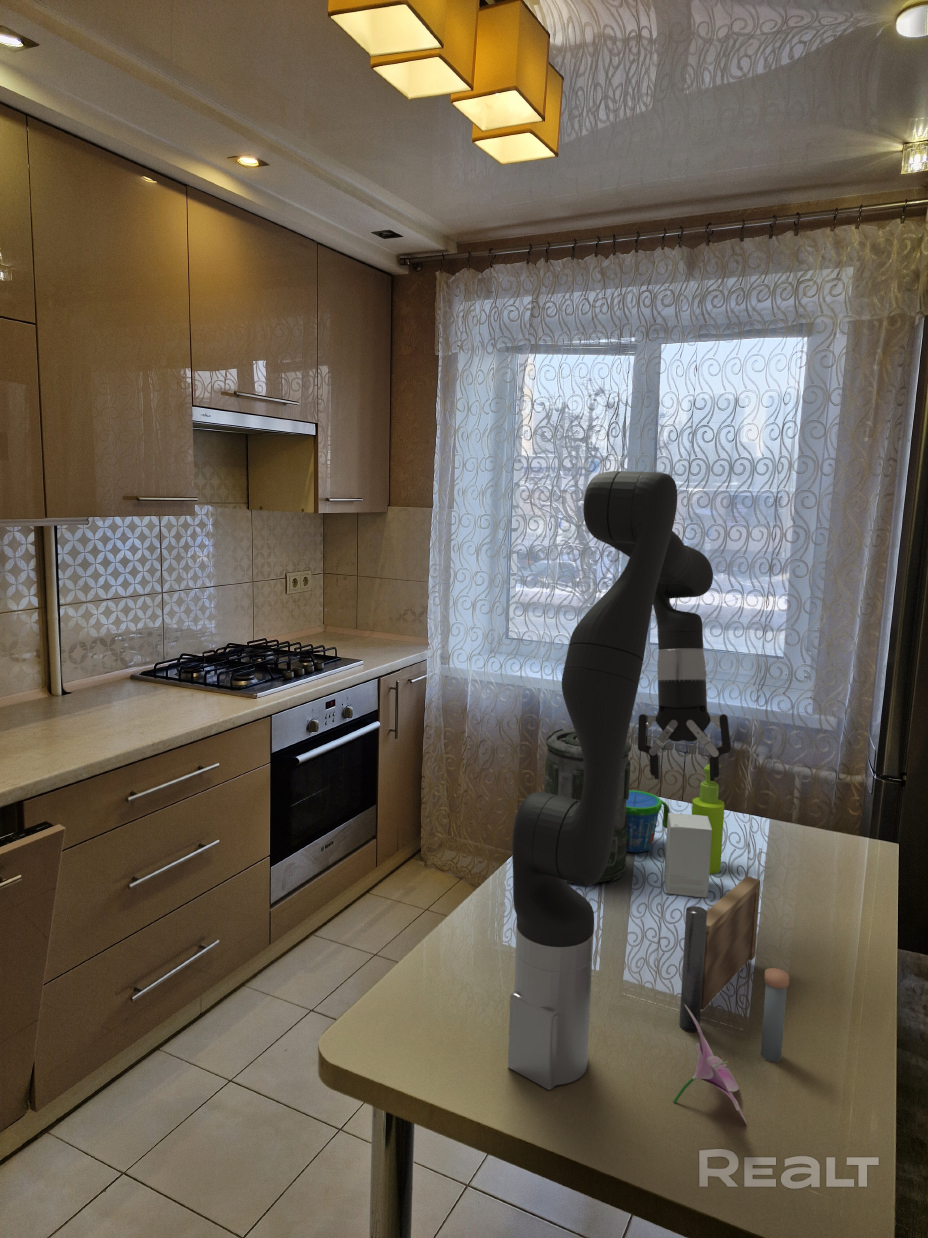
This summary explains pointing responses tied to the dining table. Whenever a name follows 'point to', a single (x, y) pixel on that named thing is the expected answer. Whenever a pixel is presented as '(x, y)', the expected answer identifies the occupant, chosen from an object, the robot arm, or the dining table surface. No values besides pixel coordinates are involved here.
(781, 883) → the dining table surface
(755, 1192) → the dining table surface
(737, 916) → the gate
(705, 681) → the robot arm
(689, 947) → the gatepost
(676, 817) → the supplement box
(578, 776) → the canister
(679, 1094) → the lily
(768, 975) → the stop post
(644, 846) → the snack cup
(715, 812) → the soap dispenser
